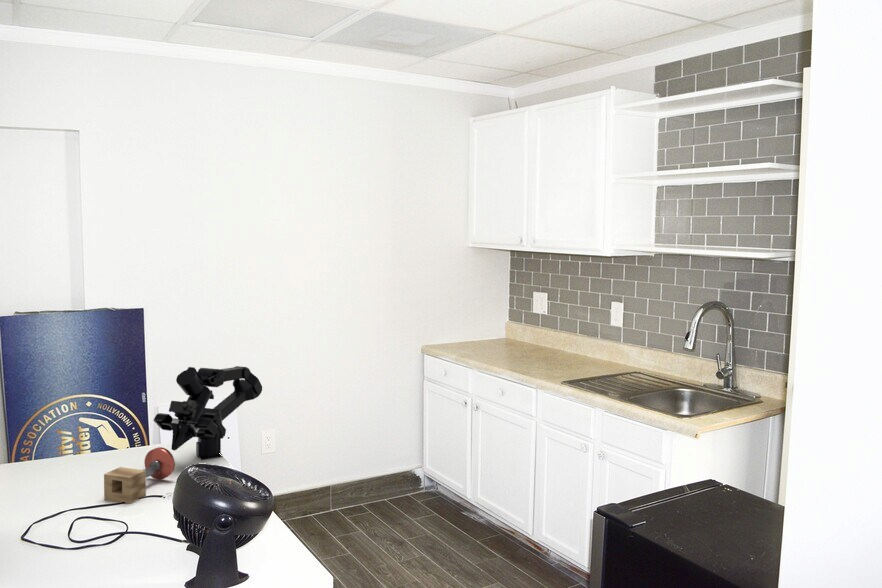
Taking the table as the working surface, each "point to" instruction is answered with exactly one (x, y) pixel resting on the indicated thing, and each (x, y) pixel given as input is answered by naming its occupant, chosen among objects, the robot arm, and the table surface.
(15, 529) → the table surface
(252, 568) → the table surface
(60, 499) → the table surface
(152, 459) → the copper disc handle
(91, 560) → the table surface
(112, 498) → the tan block
